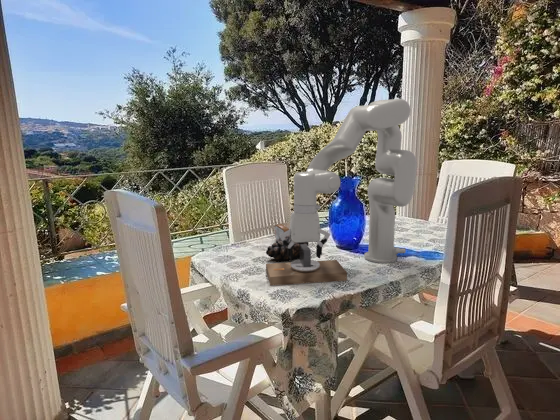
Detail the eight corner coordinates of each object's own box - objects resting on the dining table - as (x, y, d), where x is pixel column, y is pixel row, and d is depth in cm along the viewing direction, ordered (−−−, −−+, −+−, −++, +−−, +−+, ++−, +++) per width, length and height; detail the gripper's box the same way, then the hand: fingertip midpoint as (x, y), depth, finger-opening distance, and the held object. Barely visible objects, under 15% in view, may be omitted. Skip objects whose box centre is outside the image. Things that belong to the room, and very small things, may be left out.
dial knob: (322, 271, 136) (322, 250, 135) (293, 273, 135) (293, 252, 133) (314, 259, 148) (314, 240, 146) (287, 261, 146) (287, 242, 145)
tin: (292, 248, 173) (292, 229, 172) (285, 249, 172) (285, 230, 170) (279, 239, 187) (279, 221, 185) (273, 240, 186) (273, 222, 184)
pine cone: (262, 260, 158) (262, 235, 156) (294, 250, 170) (294, 227, 168) (280, 267, 150) (280, 241, 148) (313, 256, 162) (313, 232, 160)
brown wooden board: (336, 267, 149) (336, 259, 148) (346, 280, 136) (347, 271, 136) (266, 271, 146) (265, 263, 145) (270, 285, 133) (270, 276, 132)
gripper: (327, 206, 141) (326, 253, 144) (278, 207, 139) (278, 255, 142) (333, 210, 134) (331, 260, 137) (281, 212, 131) (281, 262, 135)
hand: (304, 257), depth 139 cm, fingers open, 9 cm apart
